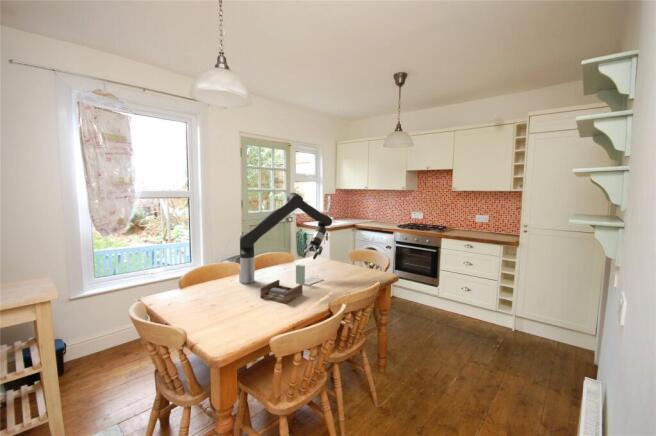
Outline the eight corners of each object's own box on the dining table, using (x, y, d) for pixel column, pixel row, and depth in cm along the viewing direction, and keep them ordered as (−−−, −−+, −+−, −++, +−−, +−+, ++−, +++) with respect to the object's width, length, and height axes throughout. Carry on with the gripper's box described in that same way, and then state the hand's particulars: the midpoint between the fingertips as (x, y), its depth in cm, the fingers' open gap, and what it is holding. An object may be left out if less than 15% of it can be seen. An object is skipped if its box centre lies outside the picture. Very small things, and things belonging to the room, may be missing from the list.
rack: (260, 299, 162) (260, 287, 161) (277, 291, 176) (277, 279, 175) (286, 306, 154) (286, 293, 153) (302, 296, 168) (302, 284, 167)
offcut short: (269, 293, 162) (269, 289, 162) (273, 290, 166) (273, 287, 166) (283, 295, 159) (283, 292, 159) (287, 293, 163) (287, 289, 163)
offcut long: (267, 297, 163) (267, 292, 163) (273, 294, 168) (273, 290, 167) (284, 301, 158) (284, 296, 157) (290, 298, 162) (290, 293, 162)
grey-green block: (295, 283, 188) (296, 265, 187) (298, 281, 191) (298, 264, 190) (302, 284, 186) (302, 266, 185) (304, 283, 189) (304, 265, 187)
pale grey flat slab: (278, 288, 182) (291, 293, 175) (278, 284, 182) (291, 288, 175) (310, 277, 207) (323, 281, 199) (310, 273, 206) (323, 277, 199)
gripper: (307, 235, 206) (297, 253, 197) (324, 237, 200) (315, 256, 191) (310, 241, 211) (301, 259, 202) (327, 243, 205) (319, 262, 196)
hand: (308, 257), depth 196 cm, fingers open, 8 cm apart
